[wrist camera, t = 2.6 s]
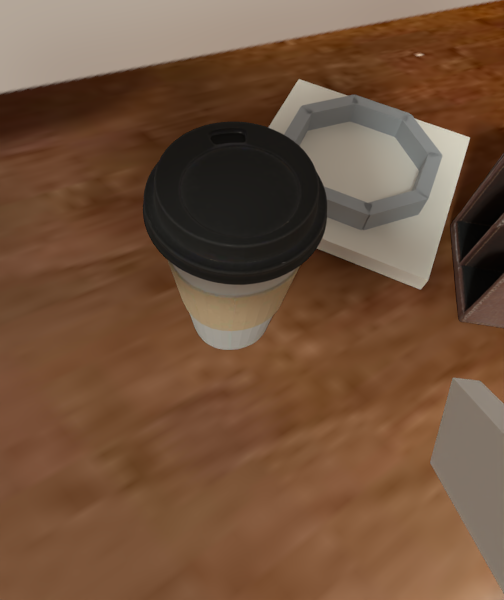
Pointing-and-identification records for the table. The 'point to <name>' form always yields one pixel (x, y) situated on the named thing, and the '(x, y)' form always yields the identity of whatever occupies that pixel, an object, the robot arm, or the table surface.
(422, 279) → the dock board
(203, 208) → the coffee cup
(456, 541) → the table surface
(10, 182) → the table surface
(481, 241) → the letter holder
